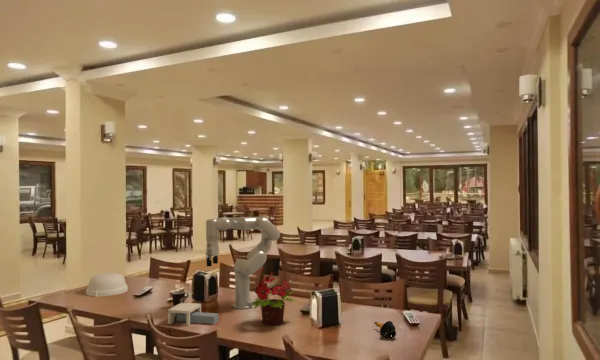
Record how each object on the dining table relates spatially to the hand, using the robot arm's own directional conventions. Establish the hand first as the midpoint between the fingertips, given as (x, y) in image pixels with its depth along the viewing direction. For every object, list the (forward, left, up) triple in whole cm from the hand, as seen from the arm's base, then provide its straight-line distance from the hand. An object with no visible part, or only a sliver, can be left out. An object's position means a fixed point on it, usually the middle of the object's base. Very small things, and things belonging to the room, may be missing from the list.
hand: (212, 264), depth 282 cm
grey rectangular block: (0, +21, -30) cm, 37 cm away
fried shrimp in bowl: (-110, +20, -31) cm, 116 cm away
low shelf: (+8, +21, -30) cm, 37 cm away
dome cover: (+103, -34, -31) cm, 113 cm away
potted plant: (-45, +16, -30) cm, 56 cm away
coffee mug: (+25, -5, -30) cm, 40 cm away
